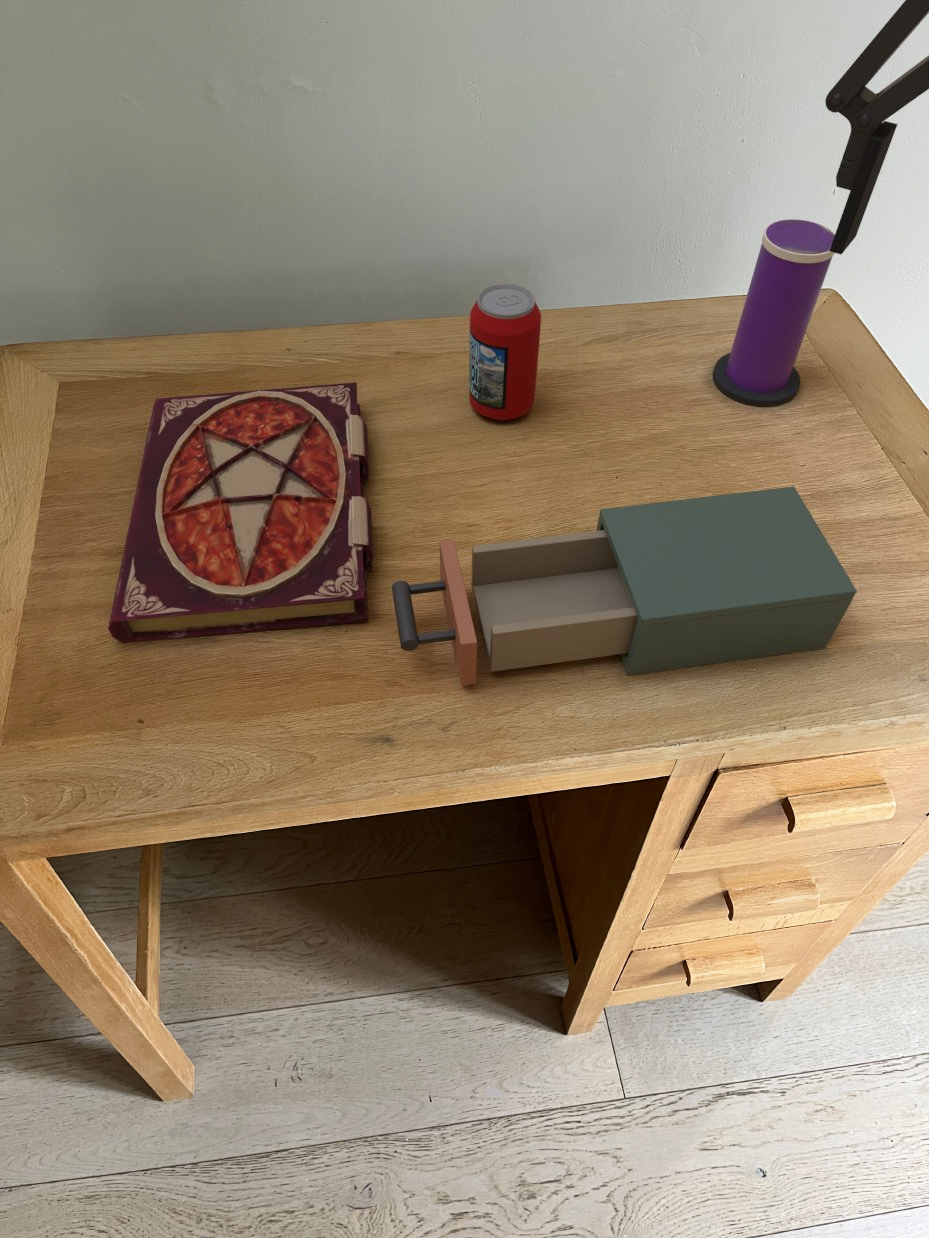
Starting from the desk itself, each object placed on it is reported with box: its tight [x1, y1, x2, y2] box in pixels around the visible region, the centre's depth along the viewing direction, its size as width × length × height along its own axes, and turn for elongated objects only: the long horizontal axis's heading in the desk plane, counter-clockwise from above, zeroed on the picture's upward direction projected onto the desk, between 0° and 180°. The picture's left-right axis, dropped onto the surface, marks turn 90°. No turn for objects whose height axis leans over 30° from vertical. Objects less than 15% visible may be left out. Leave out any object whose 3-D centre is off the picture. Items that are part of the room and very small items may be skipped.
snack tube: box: [726, 218, 836, 393], centre depth 85 cm, size 7×7×15 cm
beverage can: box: [468, 283, 542, 421], centre depth 84 cm, size 7×7×12 cm
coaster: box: [712, 352, 801, 408], centre depth 91 cm, size 9×9×1 cm
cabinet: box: [595, 486, 858, 676], centre depth 69 cm, size 17×12×7 cm
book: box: [107, 381, 374, 643], centre depth 77 cm, size 28×21×5 cm
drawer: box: [391, 530, 638, 686], centre depth 67 cm, size 20×10×5 cm, turn 100°
